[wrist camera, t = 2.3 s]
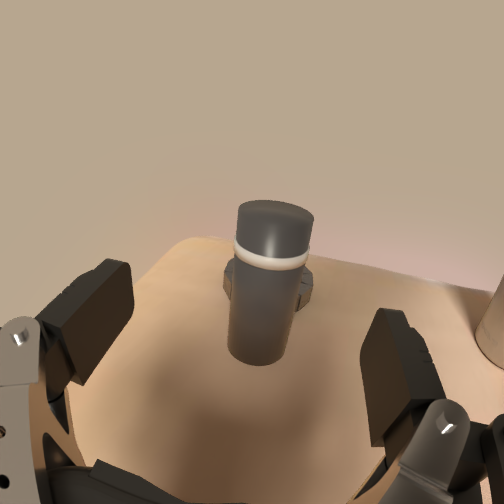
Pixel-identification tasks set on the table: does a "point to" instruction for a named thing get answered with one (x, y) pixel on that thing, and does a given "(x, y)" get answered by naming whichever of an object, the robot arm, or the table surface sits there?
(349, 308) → the table surface
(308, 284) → the block ring
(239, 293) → the dark grey canister
